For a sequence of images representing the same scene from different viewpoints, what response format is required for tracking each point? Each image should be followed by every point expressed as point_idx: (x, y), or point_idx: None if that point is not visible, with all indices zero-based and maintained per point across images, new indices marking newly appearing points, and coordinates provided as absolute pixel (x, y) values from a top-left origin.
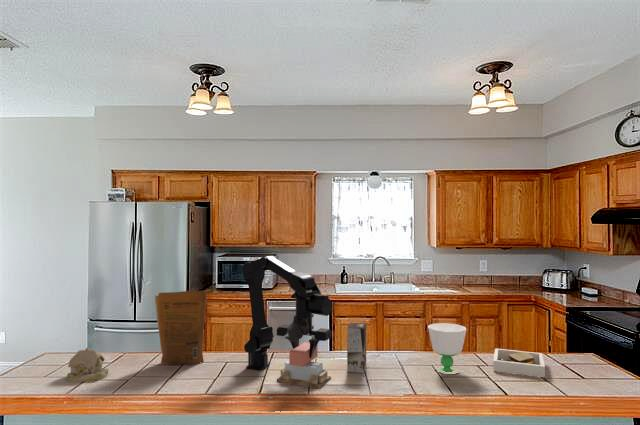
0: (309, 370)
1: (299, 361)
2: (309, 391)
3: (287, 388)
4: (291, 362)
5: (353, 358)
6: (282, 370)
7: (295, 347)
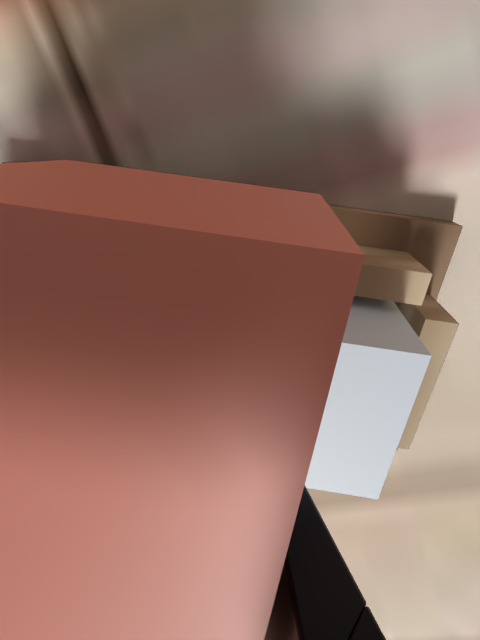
0: None
1: (93, 175)
2: (58, 52)
3: (293, 61)
4: (278, 191)
5: None
6: (433, 318)
7: (288, 599)
